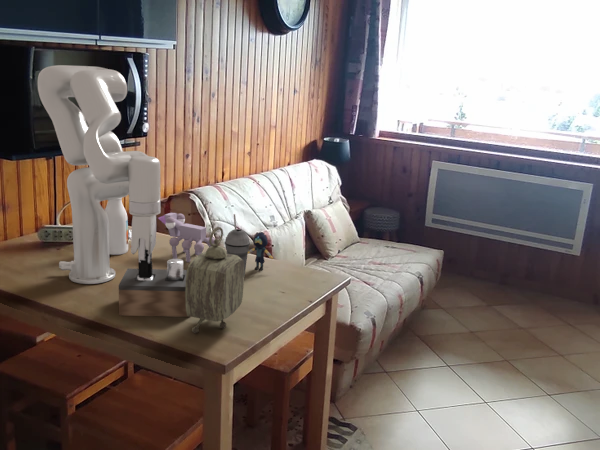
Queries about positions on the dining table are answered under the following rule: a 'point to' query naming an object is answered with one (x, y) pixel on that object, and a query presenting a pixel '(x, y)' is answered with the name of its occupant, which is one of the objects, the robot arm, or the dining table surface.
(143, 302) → the peg block
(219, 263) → the tabletop clock
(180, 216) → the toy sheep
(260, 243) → the character figure
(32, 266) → the dining table surface
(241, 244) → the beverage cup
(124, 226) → the milk bottle
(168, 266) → the right peg
